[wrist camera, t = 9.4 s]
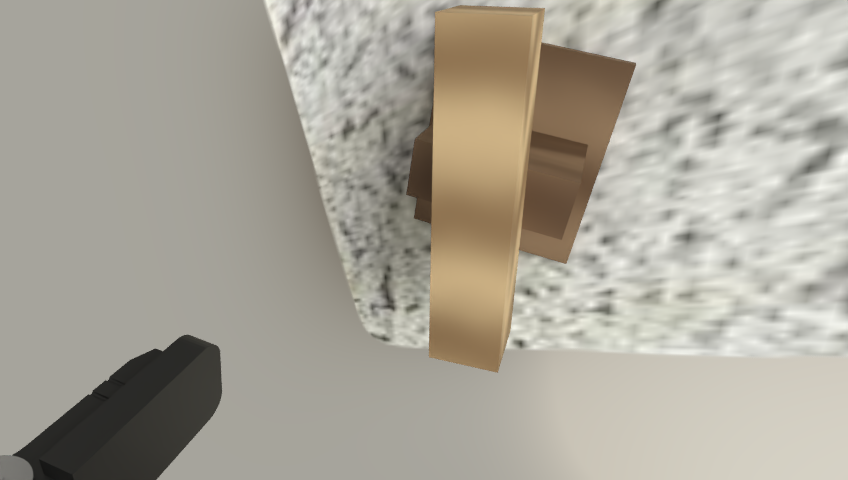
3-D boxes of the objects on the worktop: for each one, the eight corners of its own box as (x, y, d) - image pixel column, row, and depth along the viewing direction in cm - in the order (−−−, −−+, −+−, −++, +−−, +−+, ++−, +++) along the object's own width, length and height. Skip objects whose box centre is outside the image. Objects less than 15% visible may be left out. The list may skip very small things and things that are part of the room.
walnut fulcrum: (449, 22, 29) (408, 36, 23) (635, 63, 27) (639, 89, 21) (417, 214, 35) (378, 262, 29) (566, 259, 33) (556, 319, 27)
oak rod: (460, 5, 22) (435, 12, 19) (544, 8, 21) (532, 16, 18) (448, 317, 30) (428, 357, 27) (510, 330, 29) (497, 372, 26)
